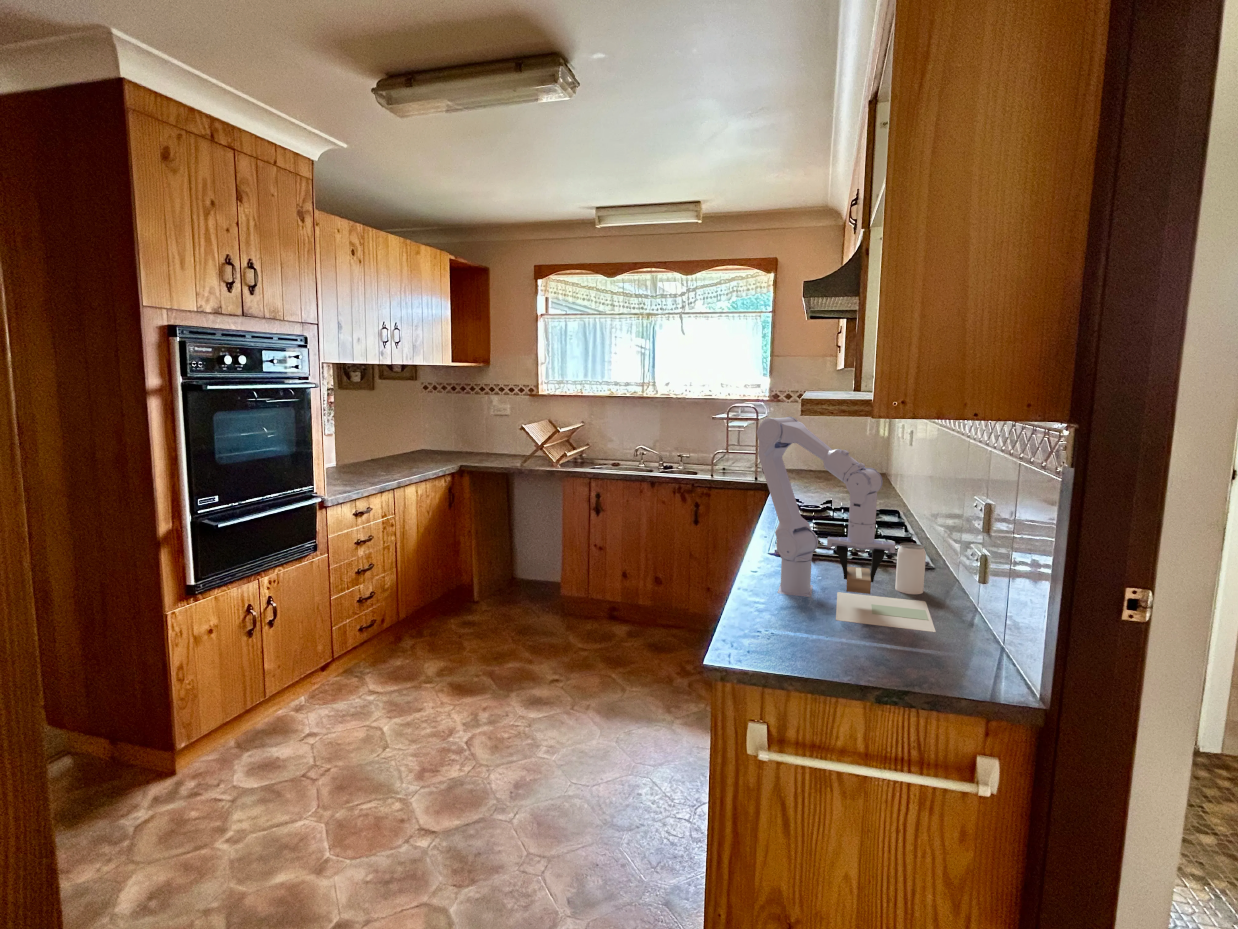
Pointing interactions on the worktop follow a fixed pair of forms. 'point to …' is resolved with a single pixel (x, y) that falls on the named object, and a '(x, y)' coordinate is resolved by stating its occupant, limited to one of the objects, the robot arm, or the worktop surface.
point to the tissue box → (858, 580)
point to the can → (910, 568)
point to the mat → (884, 611)
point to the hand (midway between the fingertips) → (858, 579)
